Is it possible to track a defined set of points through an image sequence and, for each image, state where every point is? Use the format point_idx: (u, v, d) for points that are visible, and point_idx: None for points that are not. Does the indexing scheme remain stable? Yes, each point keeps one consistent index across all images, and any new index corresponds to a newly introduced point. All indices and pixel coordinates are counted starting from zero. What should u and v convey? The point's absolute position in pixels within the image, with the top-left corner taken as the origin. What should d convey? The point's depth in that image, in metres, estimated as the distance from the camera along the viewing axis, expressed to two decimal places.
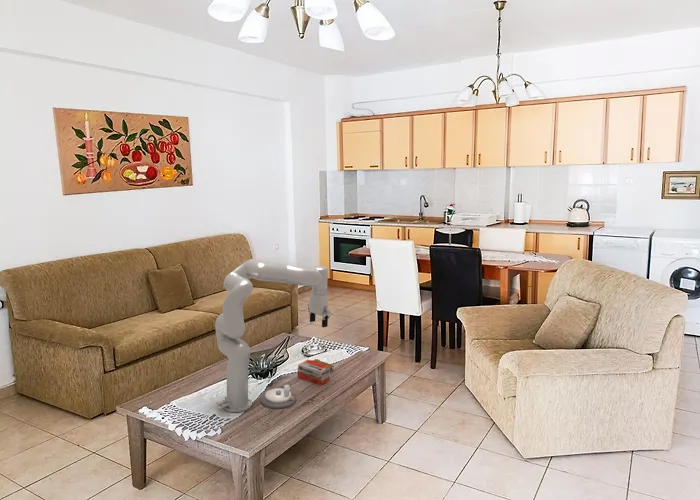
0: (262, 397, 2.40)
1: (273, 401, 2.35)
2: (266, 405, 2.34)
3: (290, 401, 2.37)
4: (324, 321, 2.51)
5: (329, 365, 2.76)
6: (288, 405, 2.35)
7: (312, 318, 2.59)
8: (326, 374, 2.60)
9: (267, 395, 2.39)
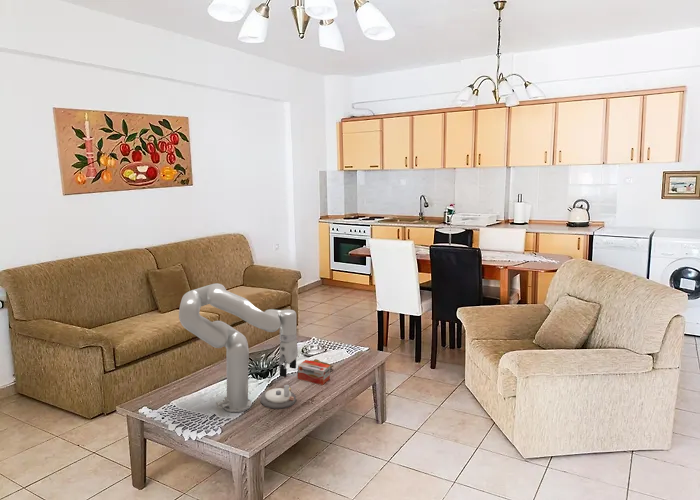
0: (262, 397, 2.40)
1: (273, 401, 2.35)
2: (266, 405, 2.34)
3: (290, 401, 2.37)
4: None
5: None
6: (288, 405, 2.35)
7: None
8: (327, 373, 2.61)
9: (267, 395, 2.39)
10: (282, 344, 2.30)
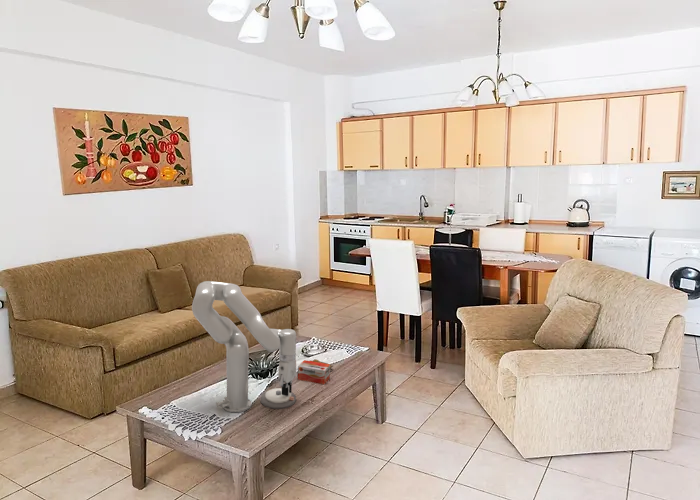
0: (262, 397, 2.40)
1: (273, 401, 2.35)
2: (266, 405, 2.34)
3: (290, 401, 2.37)
4: None
5: None
6: (288, 405, 2.35)
7: None
8: (327, 372, 2.62)
9: (267, 395, 2.39)
10: (281, 363, 2.32)
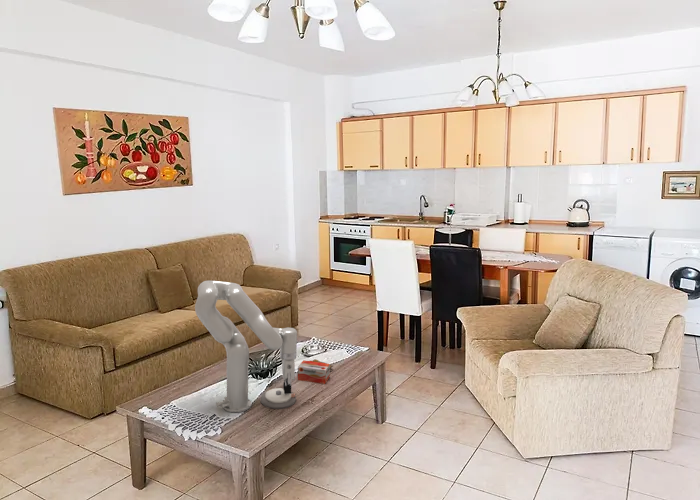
0: (262, 397, 2.40)
1: (279, 401, 2.35)
2: (266, 405, 2.34)
3: (290, 401, 2.37)
4: None
5: None
6: (288, 405, 2.35)
7: None
8: (328, 372, 2.63)
9: (269, 397, 2.37)
10: (288, 362, 2.33)
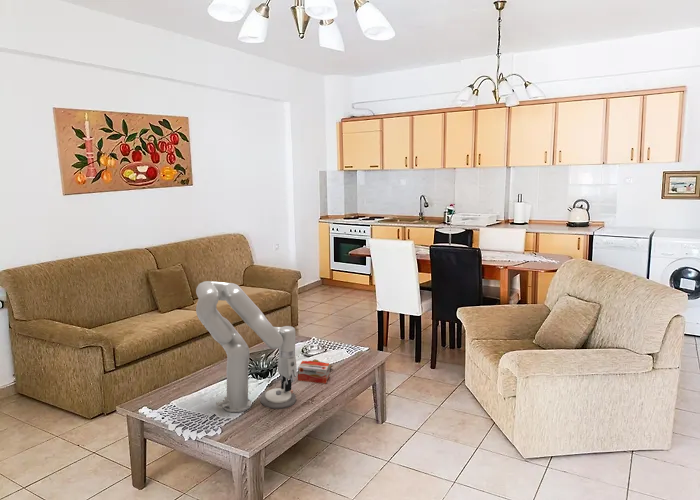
0: (262, 397, 2.40)
1: (286, 400, 2.36)
2: (266, 405, 2.34)
3: (290, 401, 2.37)
4: None
5: None
6: (288, 405, 2.35)
7: None
8: (328, 371, 2.63)
9: (274, 399, 2.35)
10: (291, 360, 2.36)
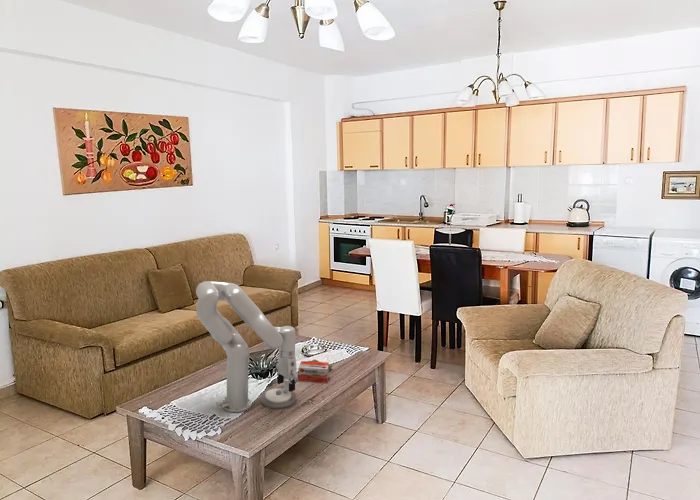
0: (262, 397, 2.40)
1: (286, 400, 2.37)
2: (266, 405, 2.34)
3: (290, 401, 2.37)
4: None
5: None
6: (288, 405, 2.35)
7: None
8: (328, 371, 2.64)
9: (274, 399, 2.35)
10: (291, 360, 2.36)
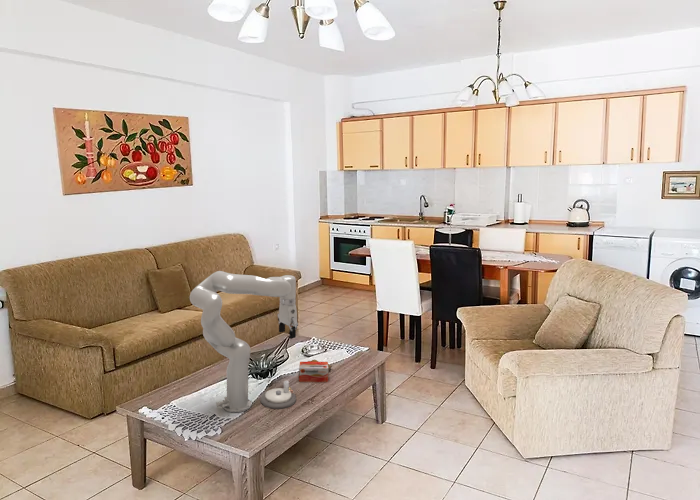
0: (262, 397, 2.40)
1: (286, 400, 2.37)
2: (266, 405, 2.34)
3: (290, 401, 2.37)
4: None
5: (328, 365, 2.76)
6: (288, 405, 2.35)
7: None
8: None
9: (274, 399, 2.35)
10: (291, 307, 2.44)
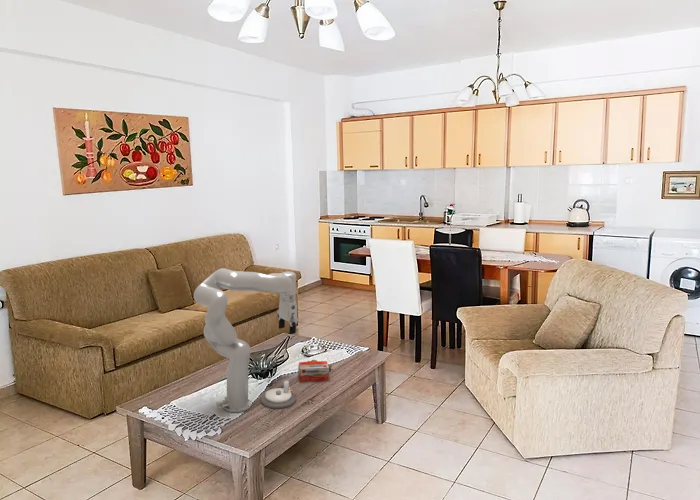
0: (262, 397, 2.40)
1: (286, 400, 2.37)
2: (266, 405, 2.34)
3: (290, 401, 2.37)
4: None
5: (328, 365, 2.76)
6: (288, 405, 2.35)
7: None
8: None
9: (274, 399, 2.35)
10: (291, 303, 2.46)
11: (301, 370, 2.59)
